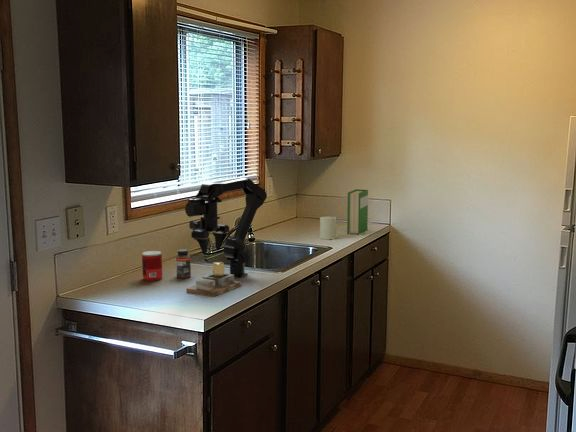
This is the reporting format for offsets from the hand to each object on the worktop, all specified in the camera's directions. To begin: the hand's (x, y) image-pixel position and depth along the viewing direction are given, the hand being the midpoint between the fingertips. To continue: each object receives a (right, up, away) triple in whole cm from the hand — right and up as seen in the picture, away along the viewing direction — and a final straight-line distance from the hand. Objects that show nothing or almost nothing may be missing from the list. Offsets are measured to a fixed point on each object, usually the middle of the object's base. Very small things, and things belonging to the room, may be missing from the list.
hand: (211, 252), depth 255 cm
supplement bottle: (-13, -11, +10) cm, 19 cm away
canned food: (-25, -12, +6) cm, 28 cm away
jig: (+2, -14, -10) cm, 17 cm away
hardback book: (+71, +5, +113) cm, 134 cm away
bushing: (+4, -12, -7) cm, 14 cm away
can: (+53, +2, +95) cm, 109 cm away
